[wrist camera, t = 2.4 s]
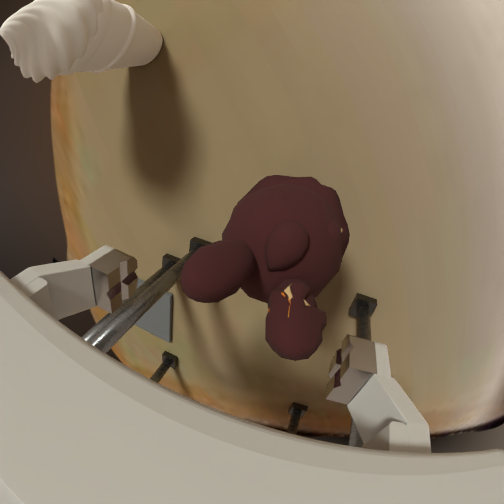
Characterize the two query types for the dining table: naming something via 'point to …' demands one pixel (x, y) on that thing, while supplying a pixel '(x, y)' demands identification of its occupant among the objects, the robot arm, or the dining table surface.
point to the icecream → (276, 258)
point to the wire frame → (131, 312)
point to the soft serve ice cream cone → (78, 37)
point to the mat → (158, 317)
